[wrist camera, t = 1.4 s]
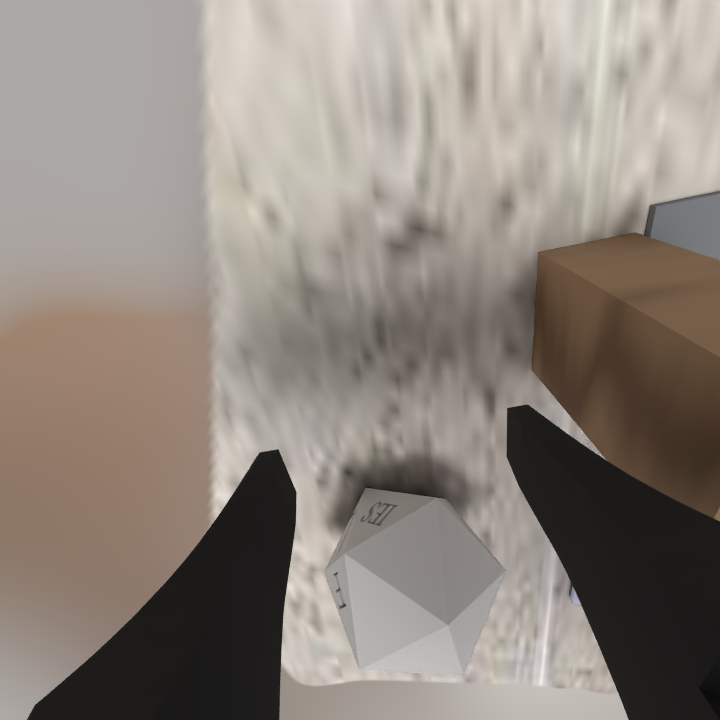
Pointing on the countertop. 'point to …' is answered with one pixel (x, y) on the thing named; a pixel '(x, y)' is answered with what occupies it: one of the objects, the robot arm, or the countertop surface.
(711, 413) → the walnut block
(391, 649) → the die
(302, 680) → the countertop surface
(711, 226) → the mat
